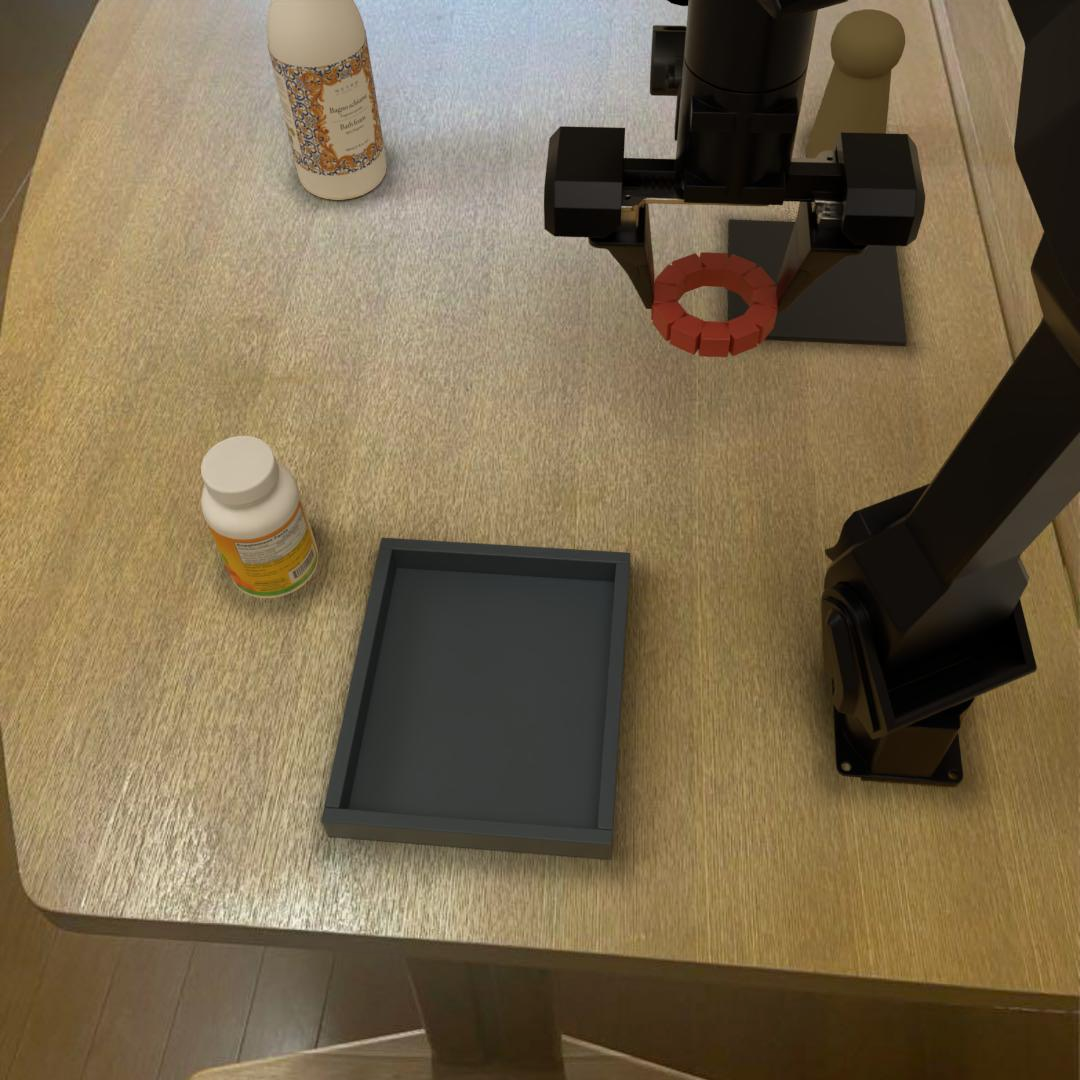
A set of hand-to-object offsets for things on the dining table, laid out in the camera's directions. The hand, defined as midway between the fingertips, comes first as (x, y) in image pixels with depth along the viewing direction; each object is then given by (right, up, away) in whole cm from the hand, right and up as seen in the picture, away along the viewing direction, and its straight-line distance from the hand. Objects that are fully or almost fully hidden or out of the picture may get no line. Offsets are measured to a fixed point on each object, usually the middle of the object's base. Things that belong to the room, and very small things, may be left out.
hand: (714, 305), depth 68 cm
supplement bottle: (-26, -15, +4) cm, 30 cm away
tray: (-13, -22, -2) cm, 26 cm away
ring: (0, 0, 0) cm, 0 cm away
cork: (+14, +17, +26) cm, 34 cm away
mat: (+10, +5, +17) cm, 20 cm away
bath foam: (-25, +15, +26) cm, 39 cm away
